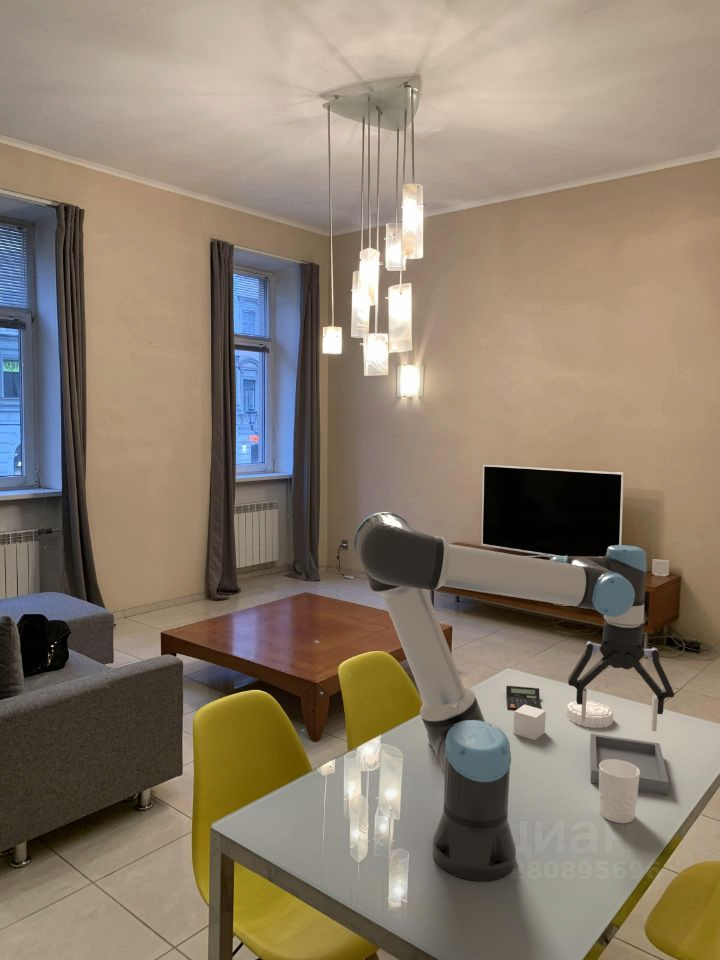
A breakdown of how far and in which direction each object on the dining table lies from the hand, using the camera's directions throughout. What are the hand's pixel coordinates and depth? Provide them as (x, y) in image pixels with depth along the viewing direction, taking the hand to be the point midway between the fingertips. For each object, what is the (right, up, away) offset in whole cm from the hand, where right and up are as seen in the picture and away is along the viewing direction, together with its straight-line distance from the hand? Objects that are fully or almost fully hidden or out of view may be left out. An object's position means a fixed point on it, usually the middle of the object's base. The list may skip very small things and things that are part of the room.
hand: (617, 724), depth 148 cm
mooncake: (+10, -16, +49) cm, 52 cm away
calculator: (-6, -14, +59) cm, 61 cm away
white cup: (0, -19, +1) cm, 19 cm away
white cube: (-9, -16, +39) cm, 43 cm away
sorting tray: (+9, -17, +21) cm, 29 cm away
